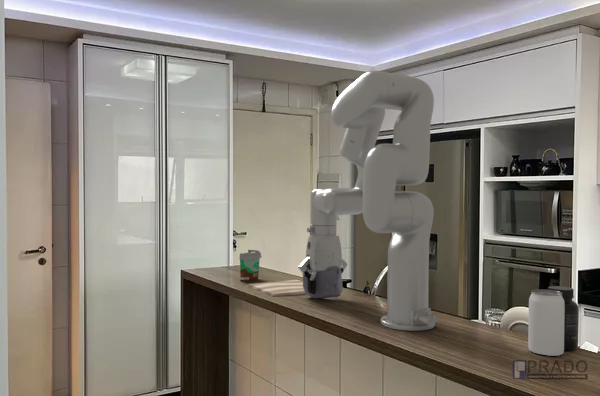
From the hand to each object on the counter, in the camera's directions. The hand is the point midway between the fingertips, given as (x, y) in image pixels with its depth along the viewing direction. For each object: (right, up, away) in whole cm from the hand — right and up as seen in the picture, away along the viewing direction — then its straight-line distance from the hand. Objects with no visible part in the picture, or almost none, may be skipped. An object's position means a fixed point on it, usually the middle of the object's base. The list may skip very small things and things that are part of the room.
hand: (323, 291), depth 155 cm
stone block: (0, -3, 0) cm, 3 cm away
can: (+42, -4, -49) cm, 65 cm away
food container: (-23, -2, +33) cm, 40 cm away
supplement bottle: (+47, -4, -44) cm, 65 cm away
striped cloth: (-11, -2, +14) cm, 18 cm away
